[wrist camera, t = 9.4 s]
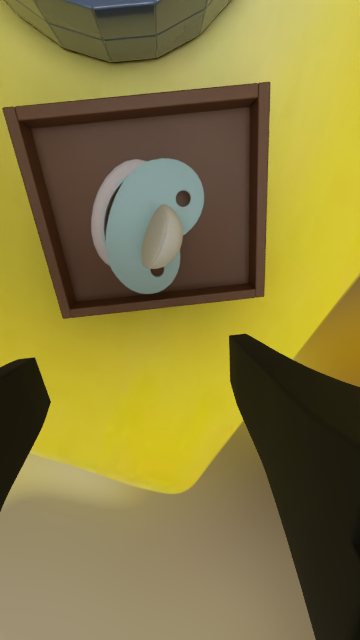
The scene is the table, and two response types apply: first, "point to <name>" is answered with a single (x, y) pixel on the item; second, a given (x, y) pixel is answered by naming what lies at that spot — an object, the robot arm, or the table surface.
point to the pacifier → (145, 220)
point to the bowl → (119, 24)
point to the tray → (219, 195)
